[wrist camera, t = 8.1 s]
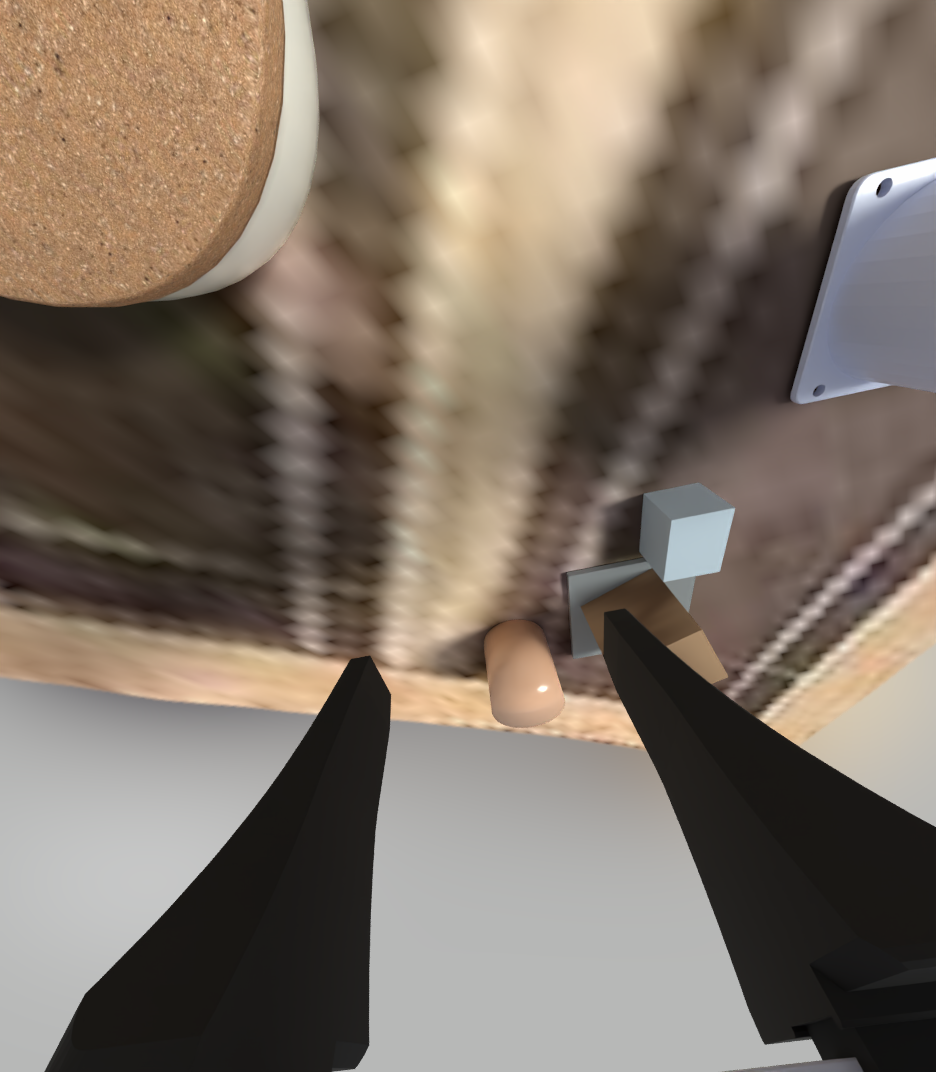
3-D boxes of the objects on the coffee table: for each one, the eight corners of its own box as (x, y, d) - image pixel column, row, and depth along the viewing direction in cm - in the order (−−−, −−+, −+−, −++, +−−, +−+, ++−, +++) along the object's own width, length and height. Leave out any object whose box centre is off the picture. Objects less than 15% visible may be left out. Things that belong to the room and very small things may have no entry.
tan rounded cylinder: (542, 614, 24) (563, 678, 20) (547, 655, 27) (566, 720, 22) (478, 626, 25) (486, 692, 20) (489, 666, 27) (497, 732, 23)
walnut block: (652, 567, 22) (701, 629, 18) (679, 612, 24) (728, 676, 20) (580, 606, 23) (610, 672, 19) (612, 645, 26) (645, 711, 22)
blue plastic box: (697, 481, 20) (735, 507, 17) (687, 540, 22) (719, 571, 19) (642, 492, 20) (671, 520, 17) (638, 550, 22) (663, 582, 19)
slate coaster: (696, 547, 22) (700, 551, 22) (680, 634, 26) (683, 639, 26) (566, 572, 22) (568, 576, 22) (571, 654, 27) (573, 658, 26)
